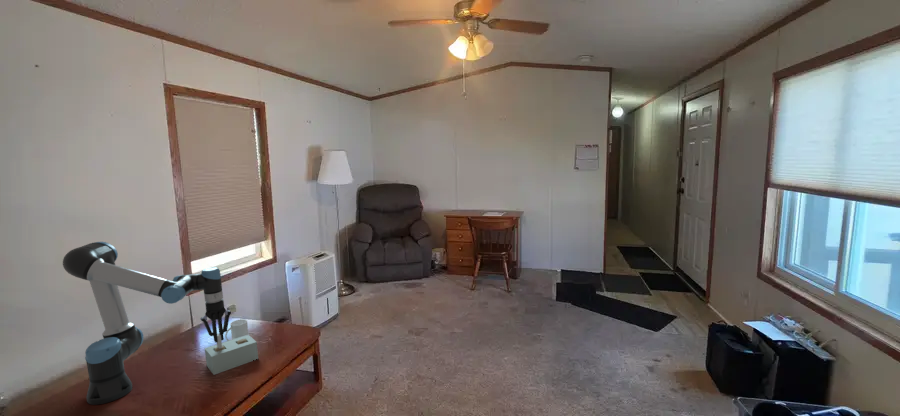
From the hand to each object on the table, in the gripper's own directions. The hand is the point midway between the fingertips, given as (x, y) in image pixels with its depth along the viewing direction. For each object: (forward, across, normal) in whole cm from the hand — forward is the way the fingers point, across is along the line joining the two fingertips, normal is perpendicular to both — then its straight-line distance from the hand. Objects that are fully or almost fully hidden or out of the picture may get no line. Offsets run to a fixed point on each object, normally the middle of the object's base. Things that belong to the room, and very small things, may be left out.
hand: (219, 347), depth 195 cm
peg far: (+9, +10, 0) cm, 14 cm away
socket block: (+10, +5, 0) cm, 11 cm away
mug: (+10, +13, +19) cm, 25 cm away
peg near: (+9, 0, 0) cm, 9 cm away
